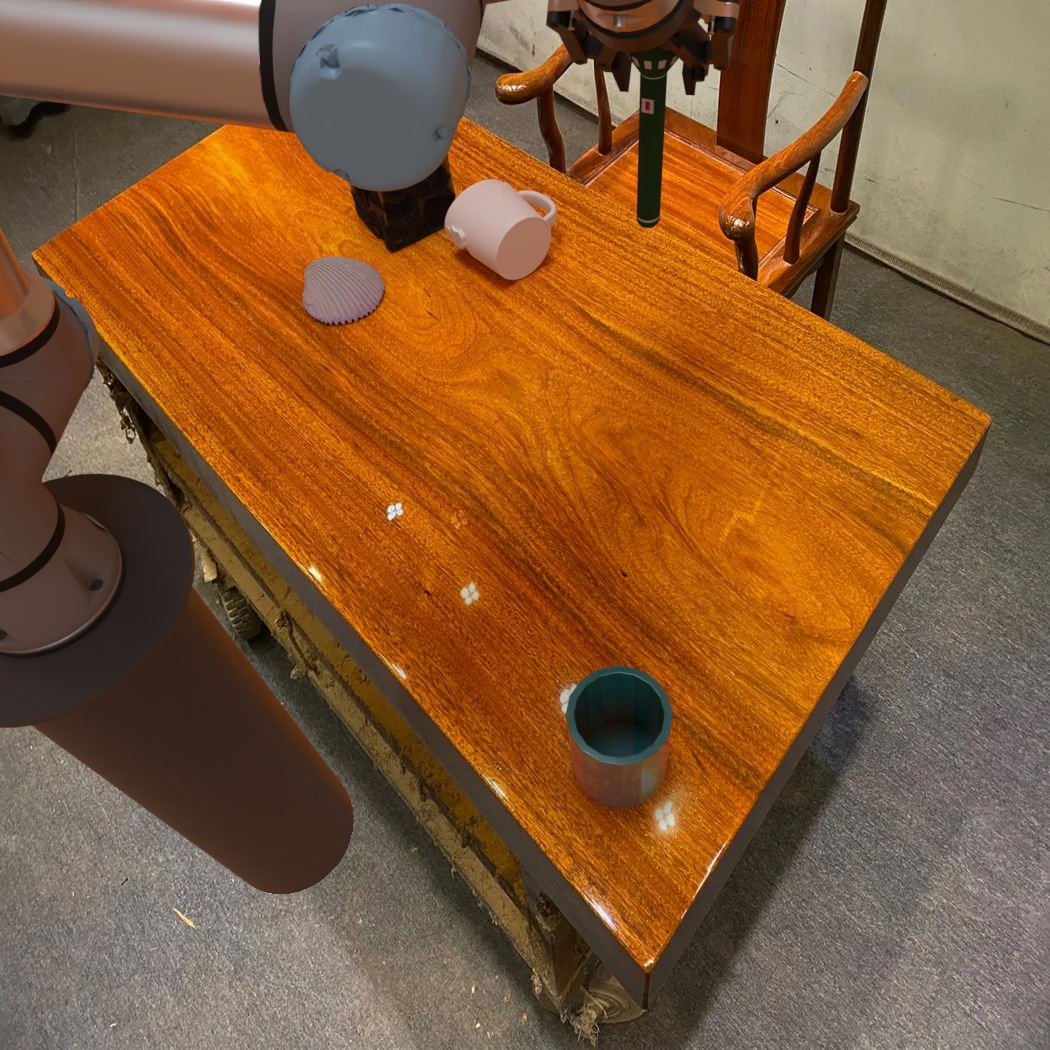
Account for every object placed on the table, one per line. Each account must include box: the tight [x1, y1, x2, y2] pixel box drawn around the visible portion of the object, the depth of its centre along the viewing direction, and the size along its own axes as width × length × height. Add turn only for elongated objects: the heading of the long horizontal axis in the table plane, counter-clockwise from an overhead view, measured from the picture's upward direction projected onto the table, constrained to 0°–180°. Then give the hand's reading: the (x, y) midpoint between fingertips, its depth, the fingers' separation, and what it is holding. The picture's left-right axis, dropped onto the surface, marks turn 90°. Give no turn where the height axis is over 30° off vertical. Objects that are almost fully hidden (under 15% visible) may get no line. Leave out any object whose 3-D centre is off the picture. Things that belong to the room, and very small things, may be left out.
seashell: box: [301, 256, 386, 326], centre depth 109 cm, size 10×6×10 cm
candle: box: [349, 153, 457, 253], centre depth 114 cm, size 10×10×10 cm
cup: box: [565, 665, 674, 809], centre depth 72 cm, size 8×8×10 cm
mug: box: [444, 178, 558, 281], centre depth 109 cm, size 12×9×8 cm
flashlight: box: [627, 46, 680, 229], centre depth 80 cm, size 5×5×20 cm
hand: (658, 76), depth 81 cm, fingers closed on flashlight, 5 cm apart
